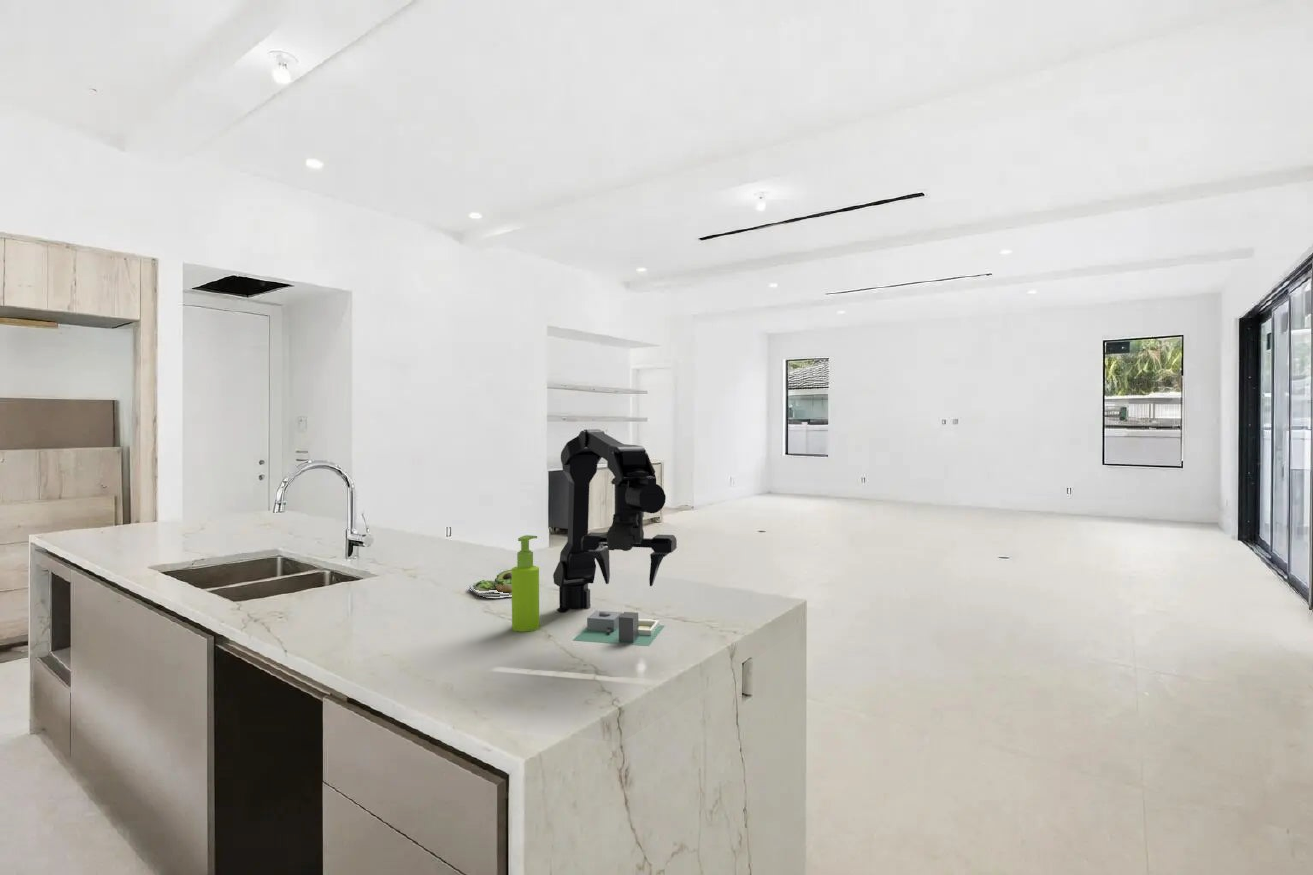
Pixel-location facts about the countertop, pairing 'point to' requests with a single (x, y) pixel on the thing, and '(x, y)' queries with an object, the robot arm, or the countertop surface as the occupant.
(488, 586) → the salad plate
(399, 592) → the countertop surface
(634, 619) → the plug
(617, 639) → the board
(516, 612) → the soap dispenser
